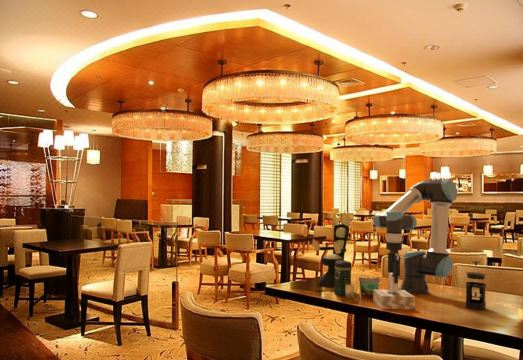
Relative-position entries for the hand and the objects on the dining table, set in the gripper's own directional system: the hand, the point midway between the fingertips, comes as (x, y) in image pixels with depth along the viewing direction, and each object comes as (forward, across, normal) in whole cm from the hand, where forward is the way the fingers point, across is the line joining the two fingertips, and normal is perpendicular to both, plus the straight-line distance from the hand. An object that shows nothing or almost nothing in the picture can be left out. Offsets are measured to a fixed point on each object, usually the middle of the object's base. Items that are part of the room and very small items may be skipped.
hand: (393, 288), depth 228 cm
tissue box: (+8, 0, 0) cm, 8 cm away
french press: (+8, +2, +40) cm, 41 cm away
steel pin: (+8, 0, 0) cm, 8 cm away
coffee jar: (+8, -23, -21) cm, 32 cm away
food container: (+8, -20, -6) cm, 23 cm away
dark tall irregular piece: (+8, -51, -21) cm, 56 cm away
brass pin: (+8, -14, -19) cm, 25 cm away
